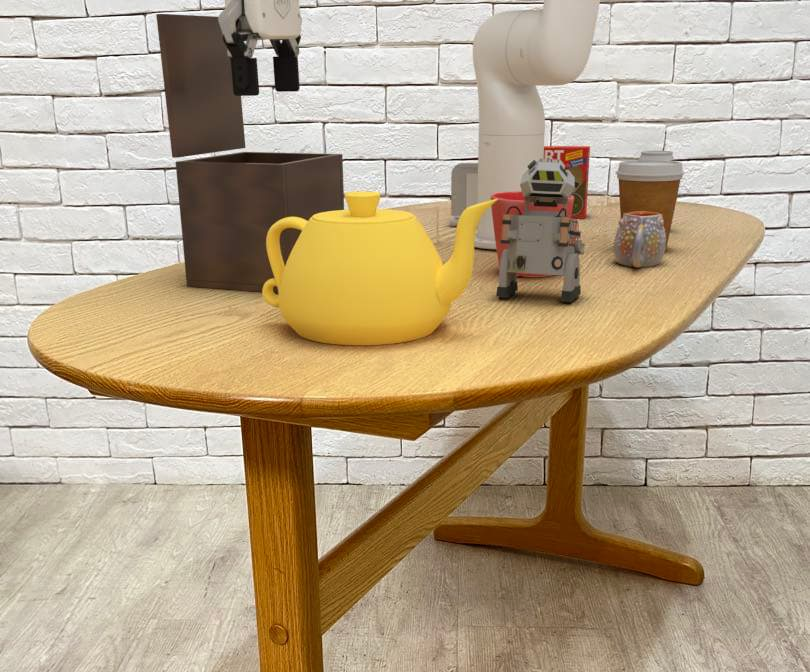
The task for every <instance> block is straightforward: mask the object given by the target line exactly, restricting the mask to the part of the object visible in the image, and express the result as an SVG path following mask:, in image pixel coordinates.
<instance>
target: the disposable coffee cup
mask: <svg viewBox="0 0 810 672" xmlns="http://www.w3.org/2000/svg"><path fill="white" fill-rule="evenodd" d="M615 174H616V179H618V195H619V212H620V214H619V215H620V220H621V219H622V217H623V214H624V213H630V212H635V211H646V212H654V213H659V214H662V215H663V217H662V218H663V221H664V225H663V226H664V229H665V234H666V247H665V252H666V251H667V250H668V249H667V248H668V244H669V238H670V233H671V229H672V224H673V219H674V214H675V210H676V204H677V201H678V200H677V199H678V194H679V189H680V184H681V180H682V179H683V175H685V171H684V169H683V163H682V162H681V161H677V160H675V161H667V160H638V159H637V160H635V159H634V160H623V161H620V162H619V165H618V168H617V170H616V171H615Z"/></svg>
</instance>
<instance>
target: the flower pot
mask: <svg viewBox="0 0 810 672" xmlns="http://www.w3.org/2000/svg"><path fill="white" fill-rule="evenodd" d="M494 199H498V200H497V201H496V202H495V203H493V204H492V205H491V209H492V218H493V226H494V234H495V242H496V249H497V250H496V255H497V261H498V269H500V261H501V256H502V253H503V250H504V249H508V247H509V244H503V243H500V242H501V237H502V225H503V224H502V220H503V214H505V213H507V211H508V209H509V208H510V207H512V206H516V207H518V208H519V210H520V212H521V214H523V215H524V211H526V203H525V200H524V199H525V196H523V194H522V191H517V192H501V193H495V194H492V195H491V200H494ZM573 203H574V196H573V195H571V196H570V198H568V202H567V204H568V205H566V204H565V209H566V216H568V217H570V218H571V214H572V209H573ZM562 208H563V204H557V207H544V206H534V202H529V209H528V210H534V211H553V212H560V210H561V209H562ZM508 214H510V215H517V214H519V211H518V210H517V209H516V208H511V209H510V210H509V213H508ZM571 219H572V218H571ZM552 276H553V275H546V274H530V273H516V277H523V278H545V277H552Z"/></svg>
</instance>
